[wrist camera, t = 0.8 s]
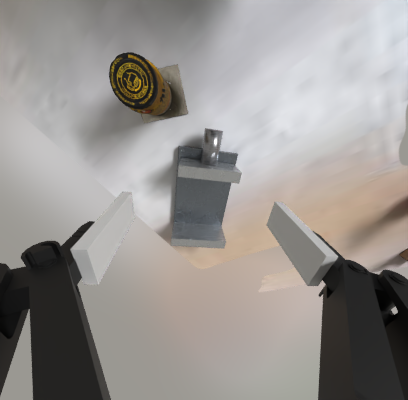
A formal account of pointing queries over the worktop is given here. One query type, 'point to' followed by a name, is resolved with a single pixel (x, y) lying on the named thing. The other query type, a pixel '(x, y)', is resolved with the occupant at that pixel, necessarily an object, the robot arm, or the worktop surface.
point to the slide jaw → (209, 162)
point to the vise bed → (200, 205)
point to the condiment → (147, 87)
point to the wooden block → (405, 254)
